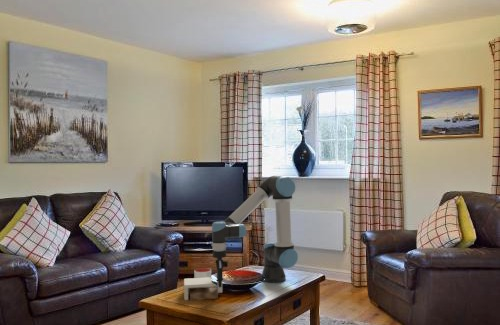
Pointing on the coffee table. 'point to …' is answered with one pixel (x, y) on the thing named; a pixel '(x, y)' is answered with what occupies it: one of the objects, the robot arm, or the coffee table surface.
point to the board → (203, 293)
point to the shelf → (196, 284)
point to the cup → (202, 273)
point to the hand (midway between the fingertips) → (219, 292)
